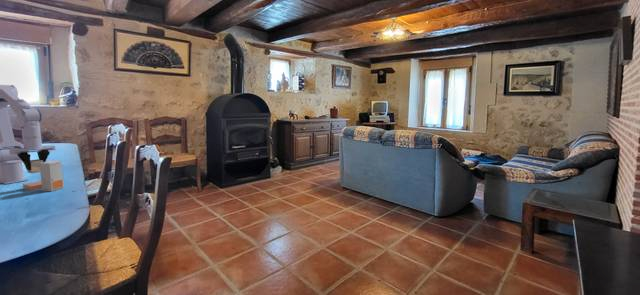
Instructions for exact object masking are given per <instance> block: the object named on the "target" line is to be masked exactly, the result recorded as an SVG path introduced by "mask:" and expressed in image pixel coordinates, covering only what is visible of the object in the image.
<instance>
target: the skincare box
mask: <svg viewBox="0 0 640 295" xmlns="http://www.w3.org/2000/svg"><path fill="white" fill-rule="evenodd" d="M39 173H40V181H41V183H42V189H41V190H42V192H53V191H56V190H60V189H63V188H64V186H65V185H64V177H63V175H64V174H63V166H62V160H49V161H46V162H43V163H40V172H39Z"/></svg>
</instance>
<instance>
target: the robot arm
mask: <svg viewBox="0 0 640 295" xmlns="http://www.w3.org/2000/svg"><path fill="white" fill-rule="evenodd" d="M18 94H19V92H18V89H17V87H16V86H15V85H13V84H11V85H10V84H0V183H1V184H4V185H8V184H14V183H21V182H26V181H29V178H25V175H24V166H25V169H26V171H27V170H31V164H30V160H31V154H30V153H37V156H38V159H39V160H43V162H47V159H48V157H49V155H50V153H51V152H50V151H56V146H55V145H54V144H53V145H43V143H42V142H43V141H42V133H41V132H42V131H41V125H40V122H42V119H43V115H42V111H41V110H40V108H38V107H37V108H35V107H33V106H31V105H30V103H29V102H27V101H26V100H24V98H20V97H19V96H18ZM8 107H9V108H10V109H11V110H12V111H13V112H14V113H15V115H16V120H17V122H18V126H19V127H20V129H21V137H22V143H21V142H20V141H19V142H18V141H17V140H16V139H15V136H14V132H13V131H14V130H13V128H12V127H13V126H12V124H11V120H10V115H9V111H8Z"/></svg>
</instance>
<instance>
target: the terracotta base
mask: <svg viewBox="0 0 640 295" xmlns="http://www.w3.org/2000/svg"><path fill="white" fill-rule="evenodd" d="M22 188H23V189H24V190H27V191H31V192H33V191H37V190H42V183H41V180H39V181H33V182H28V183H23V184H22Z"/></svg>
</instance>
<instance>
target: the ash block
mask: <svg viewBox="0 0 640 295" xmlns="http://www.w3.org/2000/svg"><path fill="white" fill-rule="evenodd" d="M40 163H43V160H39V158H38V159H37V158H36V159H32V160H31V159H30V164H31V170H27V169H26V171H27V173H28V174H37V173H40Z"/></svg>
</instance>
